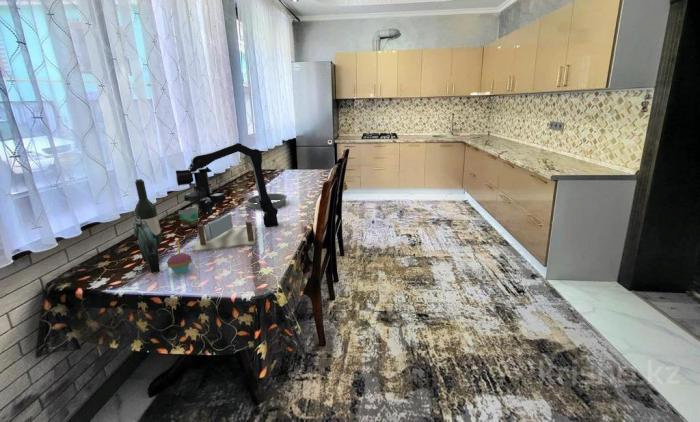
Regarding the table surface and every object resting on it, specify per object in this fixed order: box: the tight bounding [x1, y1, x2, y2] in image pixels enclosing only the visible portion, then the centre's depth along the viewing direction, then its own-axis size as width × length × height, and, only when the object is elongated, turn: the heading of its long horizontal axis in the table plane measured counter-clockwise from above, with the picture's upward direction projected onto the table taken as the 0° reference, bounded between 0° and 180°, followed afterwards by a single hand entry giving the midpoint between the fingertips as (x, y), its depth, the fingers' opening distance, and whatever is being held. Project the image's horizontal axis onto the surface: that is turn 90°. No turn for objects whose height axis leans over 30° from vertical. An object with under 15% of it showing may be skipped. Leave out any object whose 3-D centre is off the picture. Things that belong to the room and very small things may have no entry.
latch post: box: [245, 219, 254, 241], centre depth 160 cm, size 3×3×9 cm
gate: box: [203, 213, 234, 241], centre depth 165 cm, size 18×2×7 cm, turn 164°
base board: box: [192, 225, 257, 253], centre depth 166 cm, size 26×24×1 cm
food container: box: [177, 203, 200, 229], centre depth 187 cm, size 12×6×10 cm, turn 168°
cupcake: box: [166, 240, 192, 275], centre depth 133 cm, size 9×8×12 cm
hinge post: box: [196, 223, 206, 245], centre depth 157 cm, size 2×2×9 cm
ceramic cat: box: [132, 216, 161, 274], centre depth 139 cm, size 20×6×20 cm, turn 37°
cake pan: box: [246, 193, 288, 211], centre depth 222 cm, size 25×25×4 cm
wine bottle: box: [134, 178, 163, 245], centre depth 162 cm, size 8×8×30 cm
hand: (207, 214), depth 167 cm, fingers closed
